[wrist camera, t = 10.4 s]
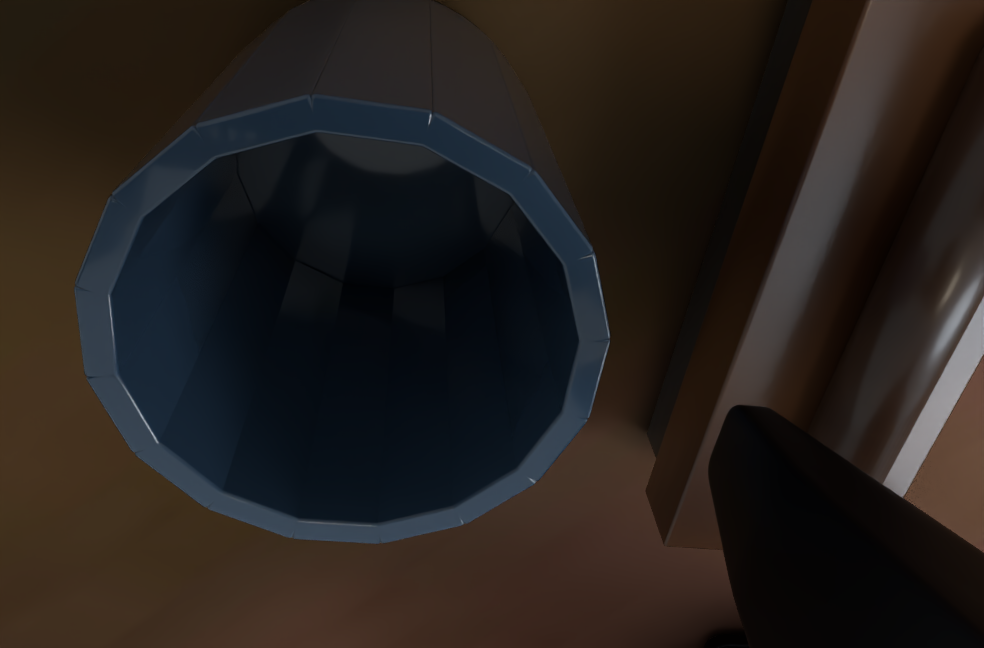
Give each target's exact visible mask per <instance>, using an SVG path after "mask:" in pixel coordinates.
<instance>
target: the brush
mask: <svg viewBox="0 0 984 648" xmlns="http://www.w3.org/2000/svg"><path fill="white" fill-rule="evenodd" d="M983 356H984V0H788V2H787V5H786V8H785V11H784V14H783V17H782V20H781V23H780V26H779V29H778V32H777V35H776V39H775V42H774V45H773V48H772V51H771V54H770V57H769V60H768V63H767V66H766V69H765V72H764V75H763V78H762V82H761V85H760V88H759V91H758V94H757V97H756V100H755V103H754V106H753V109H752V112H751V115H750V118H749V121H748V125H747V128H746V131H745V134H744V137H743V140H742V143H741V146H740V149H739V152H738V155H737V158H736V161H735V164H734V167H733V171H732V174H731V177H730V180H729V183H728V186H727V189H726V192H725V195H724V198H723V201H722V204H721V207H720V210H719V214H718V217H717V220H716V223H715V226H714V229H713V232H712V235H711V238H710V241H709V244H708V247H707V250H706V253H705V256H704V260H703V263H702V266H701V269H700V272H699V275H698V278H697V281H696V284H695V287H694V290H693V293H692V296H691V299H690V303H689V306H688V309H687V312H686V315H685V318H684V321H683V324H682V327H681V330H680V333H679V336H678V339H677V342H676V346H675V349H674V352H673V355H672V358H671V361H670V364H669V367H668V370H667V373H666V376H665V379H664V382H663V385H662V388H661V392H660V395H659V398H658V401H657V404H656V407H655V410H654V413H653V416H652V419H651V422H650V425H649V428H648V431H647V436H648V438H649V441H650V444H651V446H652V449H653V452H654V454H655V457H656V461H655V464H654V467H653V470H652V473H651V476H650V479H649V482H648V485H647V488H646V494H647V497H648V500H649V503H650V506H651V509H652V512H653V515H654V518H655V521H656V524H657V526H658V529H659V532H660V535H661V538H662V541H663V544H664V545H665V546H669V547H686V548H702V549H718V550H723V547H722V542H721V537H720V533H719V528H718V523H717V518H716V514H715V509H714V504H713V499H712V494H711V490H710V485H709V479H708V465H709V460H710V456H711V454H712V451H713V449H714V446H715V443H716V441H717V438H718V436H719V433H720V430H721V428H722V425H723V423H724V420H725V417H726V415H727V413H728V411H729V410H730V409H731V408H732V407H734V406H736V405H751V406H763V407H768V408H770V409H772V410H774V411H775V412H777V413H778V414H780V415H781V416H783V417H784V418H786V419H787V420H789V421H790V422H791V423H793V424H794V425H796V426H797V427H799V428H800V429H802V430H803V431H805V432H806V433H808V434H809V435H811V436H812V437H814V438H815V439H817V440H818V441H820V442H821V443H822V444H824V445H825V446H827V447H828V448H830V449H831V450H833V451H834V452H836V453H837V454H839V455H840V456H842V457H843V458H845V459H846V460H848V461H849V462H851V463H852V464H853V465H855V466H856V467H858V468H859V469H861V470H862V471H864V472H865V473H867V474H868V475H870V476H871V477H873V478H874V479H876V480H877V481H879V482H880V483H881V484H883V485H884V486H886V487H887V488H889V489H890V490H892V491H893V492H895V493H896V494H898V495H899V496H901V497H902V498H904V496H905V495H906V493H907V491H908V489H909V488H910V486H911V484H912V482H913V480H914V479H915V477H916V475H917V473H918V472H919V470H920V468H921V466H922V464H923V463H924V461H925V459H926V457H927V456H928V454H929V452H930V450H931V448H932V447H933V445H934V443H935V441H936V440H937V438H938V436H939V434H940V432H941V431H942V429H943V427H944V425H945V424H946V422H947V420H948V418H949V416H950V415H951V413H952V411H953V409H954V408H955V406H956V404H957V402H958V400H959V399H960V397H961V395H962V393H963V392H964V390H965V388H966V386H967V384H968V383H969V381H970V379H971V377H972V376H973V374H974V372H975V370H976V368H977V367H978V365H979V363H980V361H981V360H982V358H983Z"/></svg>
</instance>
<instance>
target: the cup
mask: <svg viewBox="0 0 984 648" xmlns="http://www.w3.org/2000/svg"><path fill="white" fill-rule="evenodd" d="M74 292H75V300H76V308H77V316H78V325H79V333H80V341H81V349H82V357H83V365H84V374H85V375H86V378H87V381H88V383H89V384H90V386H91V387H92V389H93V391H94V392H95V394H96V395H97V397H98V399H99V400H100V402H101V403H102V405H103V407H104V408H105V410H106V411H107V413H108V414H109V416H110V418H111V419H112V421H113V422H114V424H115V426H116V427H117V429H118V430H119V432H120V434H121V435H122V437H123V438H124V440H125V441H126V443H127V445H128V446H129V448H130V449H131V451H132V452H135V455H136V456H137V457H138V458H139V459H141V460H142V461H143V462H145V463H146V464H147V465H149V466H150V467H151V468H153V469H154V470H155V471H157V472H158V473H159V474H161V475H162V476H163V477H165V478H166V479H167V480H169V481H170V482H171V483H173V484H174V485H175V486H177V487H178V488H179V489H181V490H182V491H183V492H184V493H186V494H187V495H188V496H190V497H191V498H192V499H194V500H195V501H196V502H198V503H199V504H200V505H202V506H203V507H207V508H208V509H209V510H211V511H214V512H217V513H220V514H222V515H225V516H228V517H231V518H234V519H237V520H239V521H242V522H245V523H248V524H251V525H254V526H256V527H259V528H262V529H265V530H268V531H271V532H273V533H276V534H279V535H282V536H285V537H288V538H291V537H293V539H301V540H318V541H335V542H352V543H369V544H379V543H380V542H381V543H388V542H392V541H397V540H401V539H405V538H410V537H414V536H419V535H423V534H427V533H432V532H436V531H441V530H445V529H449V528H454V527H458V526H462V525H464V523H465V524H467V523H469V522H471V521H473V520H474V519H476V518H478V517H480V516H481V515H483V514H485V513H486V512H488V511H490V510H491V509H493V508H495V507H497V506H498V505H500V504H502V503H503V502H505V501H507V500H509V499H510V498H512V497H514V496H515V495H517V494H519V493H520V492H522V491H524V490H526V489H527V488H529V487H531V486H532V485H534V484H535V483H536V481H539V480H540V479H541V477H542V476H543V475H544V474H545V472H546V471H547V470H548V469H549V468H550V466H551V465H552V464H553V463H554V461H555V460H556V459H557V458H558V457H559V455H560V454H561V453H562V452H563V450H564V449H565V448H566V447H567V446H568V444H569V443H570V442H571V441H572V439H573V438H574V437H575V436H576V434H577V433H578V432H579V431H580V430H581V428H582V427H583V426H584V425H585V423H586V422H587V420H588V418H589V417H590V414H591V410H592V407H593V403H594V399H595V396H596V392H597V389H598V385H599V381H600V378H601V374H602V370H603V367H604V363H605V360H606V356H607V352H608V349H609V345H610V342H611V341H610V336H611V333H610V328H609V322H608V317H607V312H606V306H605V301H604V296H603V290H602V285H601V280H600V275H599V269H598V264H597V259H596V253H595V251H594V249H593V246H592V244H591V242H590V239H589V237H588V234H587V232H586V230H585V227H584V225H583V223H582V220H581V218H580V215H579V213H578V211H577V208H576V206H575V204H574V201H573V199H572V196H571V194H570V192H569V189H568V187H567V185H566V182H565V180H564V177H563V175H562V173H561V170H560V168H559V166H558V163H557V161H556V158H555V156H554V154H553V151H552V149H551V147H550V144H549V142H548V139H547V137H546V135H545V132H544V130H543V128H542V125H541V123H540V120H539V118H538V116H537V113H536V111H535V109H534V106H533V104H532V101H531V99H530V97H529V94H528V92H527V90H526V89H525V87H524V86H523V84H522V83H521V82H520V80H519V79H518V77H517V75H516V73H515V72H514V70H513V68H512V67H511V65H510V63H509V62H508V60H507V59H506V57H505V56H504V55H503V54H502V52H501V51H500V50H499V49H498V47H497V46H496V45H495V44H494V42H493V41H492V40H491V39H489V38H488V37H487V36H486V35H485V34H484V33H483V32H482V31H481V30H480V29H479V28H478V27H477V26H475V25H474V24H473V23H471V22H470V21H468V20H467V19H466V18H464V17H463V16H462V15H460V14H459V13H457V12H455V11H453V10H451V9H449V8H448V7H446V6H444V5H442V4H440V3H438V2H435V1H432V0H309V1H307V2H305V3H303V4H301V5H299V6H297V7H294V8H293V9H290V10H289V11H287V12H286V13H285V14H284V15H283V16H281V17H280V18H279V19H277V20H276V21H274V22H273V23H272V24H271V25H270V26H269V27H268V28H266V29H265V30H264V31H263V32H262V33H261V34H260V35H259V36H258V37H257V38H256V39H255V40H253V41H252V42H251V43H250V44H249V45H247V46H246V47H245V48H244V49H243V50H242V51H241V52H240V53H239V54H238V55H237V56H236V57H235V58H234V60H233V61H232V62H231V63H230V64H229V65H228V66H227V67H226V68H225V69H224V70H223V71H222V73H221V74H220V75H219V76H218V77H217V78H216V79H215V80H214V81H213V82H212V83H211V85H210V86H209V87H208V88H207V89H206V90H205V91H204V92H203V93H202V94H201V95H200V97H199V98H198V99H197V100H196V101H195V102H194V103H193V104H192V105H191V106H190V107H189V109H188V110H187V111H186V112H185V113H184V114H183V115H182V116H181V117H180V118H179V119H178V121H177V122H176V123H175V124H174V125H173V126H172V127H171V128H170V129H169V130H168V131H167V133H166V134H165V135H164V136H163V137H162V138H161V139H160V140H159V141H158V142H157V143H156V145H155V146H154V147H153V148H152V149H151V150H150V151H149V152H148V153H147V154H146V155H145V156H144V158H143V159H142V160H141V161H140V162H139V163H138V164H137V165H136V166H135V167H134V168H133V170H132V171H131V172H130V173H129V174H128V175H127V176H126V177H125V178H124V179H123V180H122V182H121V183H120V184H119V185H118V186H117V187H116V188H115V189H114V190H113V192H112V194H111V195H110V196H109V197H108V199H107V202H106V204H105V207H104V209H103V212H102V214H101V217H100V219H99V222H98V224H97V227H96V229H95V232H94V234H93V237H92V239H91V242H90V244H89V247H88V250H87V252H86V255H85V257H84V260H83V262H82V265H81V267H80V270H79V272H78V275H77V277H76V280H75V287H74Z"/></svg>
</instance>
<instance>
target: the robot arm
mask: <svg viewBox="0 0 984 648" xmlns="http://www.w3.org/2000/svg"><path fill="white" fill-rule="evenodd" d="M708 479H709V485H710V490H711V494H712V499H713V504H714V509H715V514H716V518H717V523H718V528H719V533H720V537H721V542H722V547H723V552H724V557H725V561H726V566H727V571H728V576H729V580H730V584H731V588H732V592H733V596H734V600H735V603H736V606H737V610H738V613H739V616H740V619H741V622H742V625H743V628H744V632H745V635H733V634H722V635H717V636H714V637H712V638H711V639H709V640H708V641H707V643H706V644H705V646H704V648H984V553H983V552H982V551H980V550H979V549H977V548H976V547H974V546H973V545H971V544H970V543H969V542H967V541H966V540H964V539H963V538H961V537H960V536H958V535H957V534H955V533H954V532H952V531H951V530H949V529H948V528H946V527H945V526H943V525H942V524H941V523H939V522H938V521H936V520H935V519H933V518H932V517H930V516H929V515H927V514H926V513H924V512H923V511H921V510H920V509H918V508H917V507H915V506H914V505H912V504H911V503H910V502H908V501H907V500H905V499H904V498H902V497H901V496H899V495H898V494H896V493H895V492H893V491H892V490H890V489H889V488H887V487H886V486H884V485H883V484H881V483H880V482H879V481H877V480H876V479H874V478H873V477H871V476H870V475H868V474H867V473H865V472H864V471H862V470H861V469H859V468H858V467H856V466H855V465H853V464H852V463H851V462H849V461H848V460H846V459H845V458H843V457H842V456H840V455H839V454H837V453H836V452H834V451H833V450H831V449H830V448H828V447H827V446H825V445H824V444H822V443H821V442H820V441H818V440H817V439H815V438H814V437H812V436H811V435H809V434H808V433H806V432H805V431H803V430H802V429H800V428H799V427H797V426H796V425H794V424H793V423H791V422H790V421H789V420H787V419H786V418H784V417H783V416H781V415H780V414H778V413H777V412H775V411H774V410H772V409H770V408H768V407H763V406H751V405H736V406H734V407H732V408H731V409H730V410H729V411H728V413H727V415H726V417H725V420H724V423H723V425H722V428H721V430H720V433H719V436H718V438H717V441H716V443H715V446H714V449H713V451H712V454H711V456H710V460H709V465H708Z"/></svg>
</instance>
